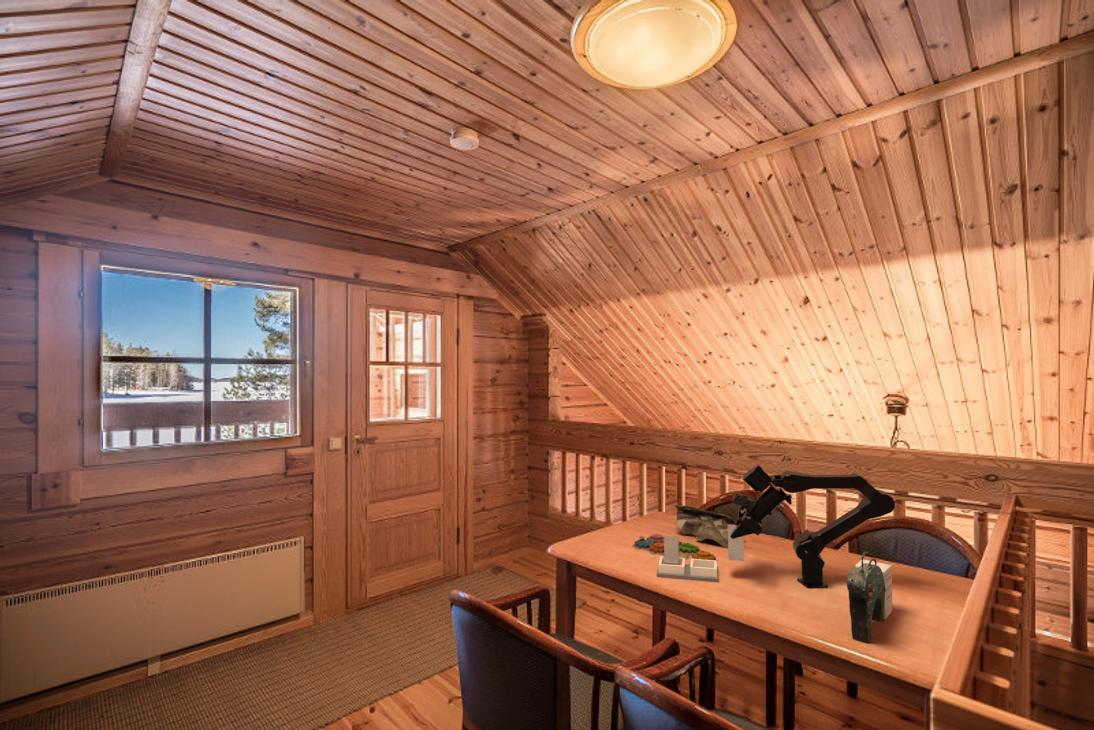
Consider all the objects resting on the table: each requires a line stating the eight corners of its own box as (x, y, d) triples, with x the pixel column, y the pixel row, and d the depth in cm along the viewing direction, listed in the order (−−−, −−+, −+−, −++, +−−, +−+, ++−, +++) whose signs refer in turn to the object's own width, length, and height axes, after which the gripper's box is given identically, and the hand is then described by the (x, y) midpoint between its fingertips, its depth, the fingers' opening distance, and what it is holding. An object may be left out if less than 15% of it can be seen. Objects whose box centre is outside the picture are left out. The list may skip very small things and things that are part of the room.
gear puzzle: (725, 558, 189) (725, 547, 190) (698, 570, 179) (698, 558, 179) (655, 538, 213) (655, 528, 213) (628, 548, 203) (628, 537, 203)
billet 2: (743, 556, 172) (742, 525, 173) (743, 561, 168) (743, 529, 168) (728, 555, 174) (727, 524, 174) (728, 560, 169) (728, 528, 169)
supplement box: (854, 611, 145) (853, 565, 145) (863, 602, 150) (861, 557, 150) (886, 620, 140) (884, 572, 140) (893, 611, 145) (892, 564, 145)
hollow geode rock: (676, 543, 221) (658, 521, 215) (690, 517, 226) (672, 495, 221) (736, 559, 198) (717, 535, 192) (749, 530, 204) (731, 506, 198)
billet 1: (679, 567, 178) (678, 536, 178) (678, 571, 174) (678, 541, 174) (665, 565, 179) (665, 535, 179) (664, 570, 175) (664, 540, 175)
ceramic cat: (871, 648, 126) (868, 563, 126) (841, 638, 131) (838, 557, 131) (891, 618, 141) (888, 542, 141) (863, 610, 145) (861, 537, 145)
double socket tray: (718, 569, 178) (717, 559, 178) (718, 582, 167) (718, 571, 167) (659, 564, 183) (659, 554, 183) (656, 576, 173) (656, 565, 173)
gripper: (745, 478, 179) (711, 509, 182) (749, 490, 161) (712, 524, 164) (771, 502, 177) (736, 534, 180) (778, 517, 159) (739, 552, 162)
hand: (730, 535), depth 171 cm, fingers closed on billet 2, 4 cm apart
